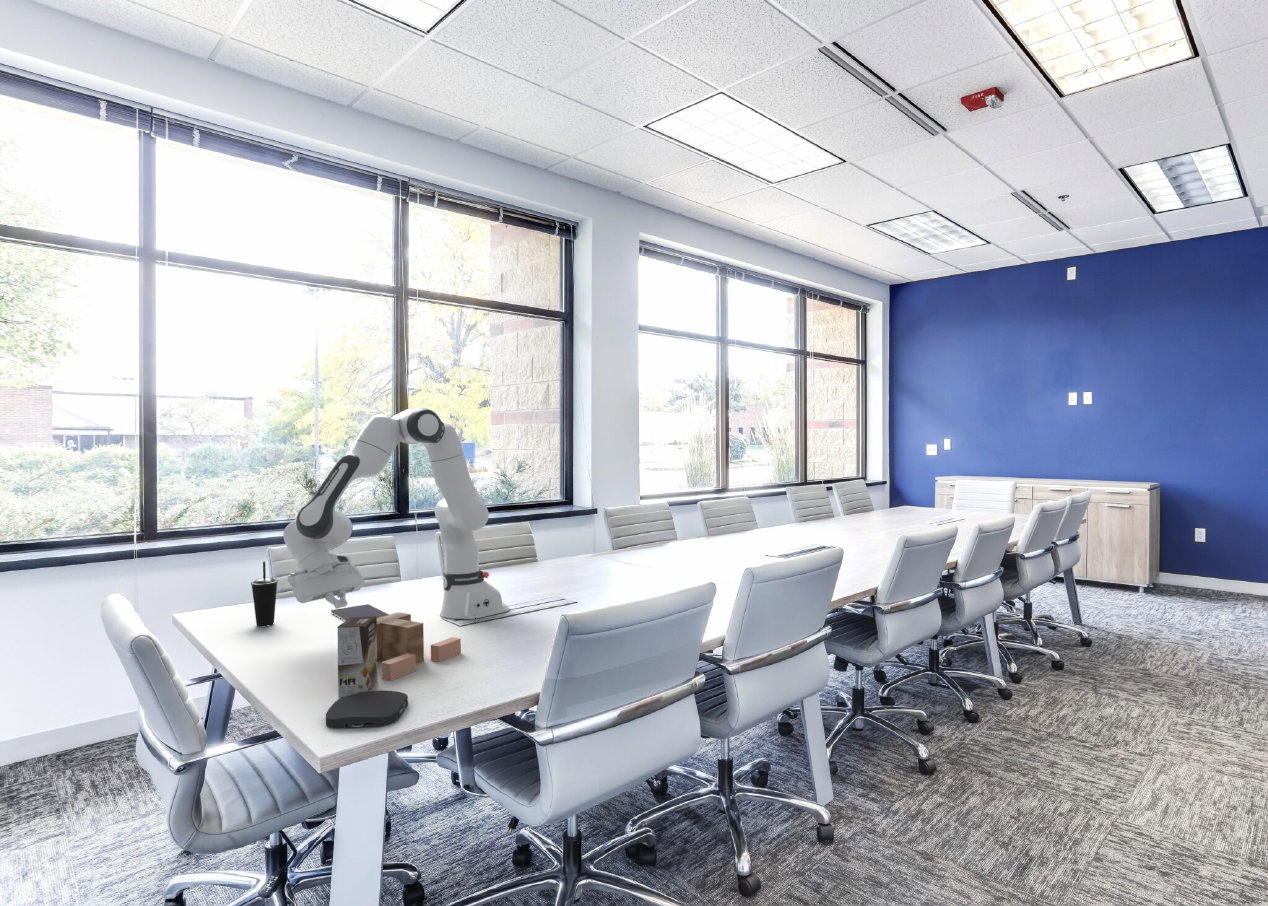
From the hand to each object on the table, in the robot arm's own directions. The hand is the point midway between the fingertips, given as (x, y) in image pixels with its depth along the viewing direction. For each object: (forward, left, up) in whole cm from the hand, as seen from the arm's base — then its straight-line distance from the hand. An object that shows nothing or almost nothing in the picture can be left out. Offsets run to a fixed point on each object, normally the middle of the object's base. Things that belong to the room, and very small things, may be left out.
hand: (342, 606), depth 192 cm
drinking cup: (+14, -41, -12) cm, 45 cm away
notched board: (-13, +28, -12) cm, 33 cm away
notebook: (-13, -34, -13) cm, 38 cm away
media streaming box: (+7, +52, -12) cm, 54 cm away
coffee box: (+5, +36, -12) cm, 38 cm away
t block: (-9, +19, -12) cm, 24 cm away
